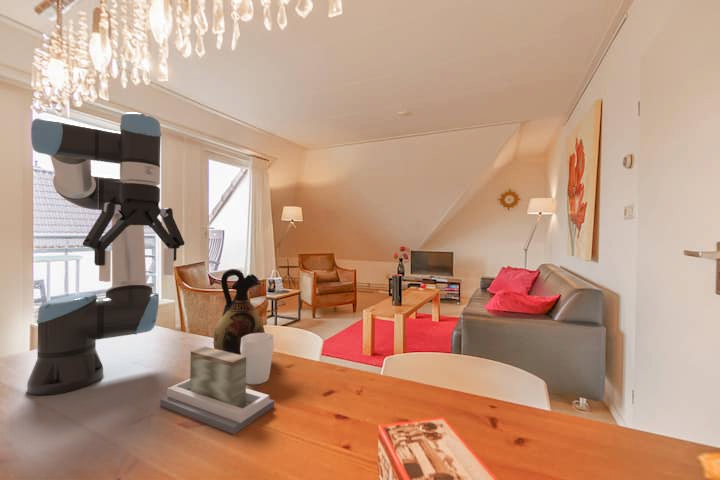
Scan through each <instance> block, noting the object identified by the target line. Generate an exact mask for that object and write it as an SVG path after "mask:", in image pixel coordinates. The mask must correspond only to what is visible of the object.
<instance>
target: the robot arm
mask: <svg viewBox="0 0 720 480" xmlns="http://www.w3.org/2000/svg"><path fill="white" fill-rule="evenodd" d="M119 129H120V131H115V130H108V129H102V128H98V127H91V126H88V125H81V124H76V123H70V122H66V121H61V120H59V119H58V120H57V119H54V120H53V119H46V118H39V117H38V118H35V119H34V120H32V121H31V128H30V131H31V132H30V133H31V135H30V136H31V137H30V139H31V146H32V149H33V151H35V152H36V153H38V154H43V155H48V156H50V160H51V164H52V166H53V170H54V174H55V175H54V177H53V180H52V183H53V187H54V189H55V191H56V192H57V194H59V196H60V197H62V198H63V199H64V200H66V201H68V202H70V203H71V204H74V205H76V206H78V207H81V208H84V209H89V210H98V211H100V212H101V213H100V214H99V216H98V217H97V219H96V221H95V223H93V226H92V227H91V229H90V231H89V232H88V233H87V235H86V237H85V239H84V240H83V242H82V246H83V247H87V248H90V249H92V250H93V251H94V259H93V262H94V265H95V266H97V267H98V268H99V269H98V273H99V274H98V280H99V282H104V283H105V282H106V283H107V282H108V283H109V282H112V285H111V287H110V288H108V289H107V290H106V291H105V297H98V296H97V294H96V293H94V292H87V293H78V294H71V295H65V296H62V297H56V298H53V299H50V300H47V301H45V302H43V303H42V304H41V305H40V306H39V308H38V313H37V314H38V315H37V320H36V323H37V351H36V352H37V355H36V356H37V359H36V361H35V363H34V366H33V369H32V371H31V374H30V375H29V378H28V380H27V384H26V385H27V386H26V387H27V388H26V389H27V390H26V391H28V392H27V393H28V394H30V395H35V396H51V395H56V394H62V393H63V394H64V393H67V392H71V391H75V390H78V389H82V388H84V387H87V386H89V385H91V384H93V383H96V382H98V381H100V379H101V378H103V375H104V366H103V363H102V361H101V358H100V356H99V354H98V351H97V349H96V341H97V340H103V339H111V338H116V337H125V336H131V335H138V334H143V333H147V332H151V331H152V330H154V328H155V327H156V322H157V318H158V311H159V305H160V304H159V303H160V298H159V297H160V296H159V293H158V292H157V293H156V292H154V291H153V287H152V286H151V285H150V284H148V283H147V269H146V251H145V250H146V247H145V246H146V245H145V226H148V227H149V228H150V229H152V231H153V232H154V233H155V234H156V235H157V237H158V238H159V239H160V240H161V241H162V243H163V244H165V246H166V247H167V248H163V276H164V275H165V276H174V271H175V269H174V266H175V265H174V264H175V262H176V261H177V249H179V248H180V247H181V246H185V240H184V238H183V236H182V234H181V232H180V230H179V227H178V225H177V223H176V221H175V219H174V213H173V209H172V208H171V207H165V208H160V206H159V205H160V204H159V203H160V201H161V188H160V187H159V185H160V184H161V165H160V163H161V140H162V139H161V137H162V131H161V123H160V121H159V120H158V119H157V118H156V117H153V116H151V115H147V114H144V113H140V112H139V113H138V112H126V113H125V112H124V113H123V114H122V115H121V116H120V124H119ZM92 161H96V162H104V163H111V164H118V165H119V176H114V175H113V176H112V175H105V174H96V173H92V164H91V163H92ZM159 216H160V217H161V218H162V220H163V222H161V220H160V219H159V218H158V217H159ZM110 223H111V227H110V229H109V230H107V232H105V231H106V229H107V227H108V226H109V225H110ZM163 223H164V225H163ZM164 226H165V227H164ZM165 228H166V229H165ZM104 233H105V234H104ZM103 234H104V235H103ZM109 246H111V249H107V248H108V247H109ZM111 263H112V264H111ZM111 275H112V276H111ZM111 278H112V279H111Z"/></svg>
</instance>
